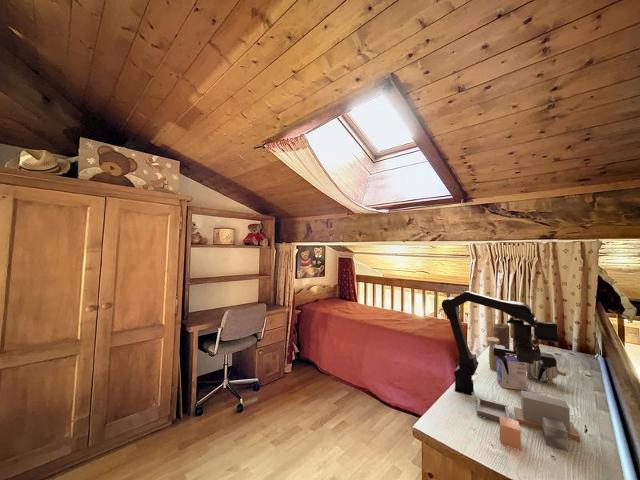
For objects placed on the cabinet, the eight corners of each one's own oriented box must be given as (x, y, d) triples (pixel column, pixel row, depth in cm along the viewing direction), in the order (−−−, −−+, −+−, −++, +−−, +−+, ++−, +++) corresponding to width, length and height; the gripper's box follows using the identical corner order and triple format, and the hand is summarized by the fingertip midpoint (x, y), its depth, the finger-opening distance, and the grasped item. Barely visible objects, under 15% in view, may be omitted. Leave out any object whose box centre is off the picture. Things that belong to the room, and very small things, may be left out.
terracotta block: (500, 444, 80) (500, 424, 80) (499, 434, 85) (499, 415, 85) (520, 450, 78) (520, 430, 78) (518, 440, 82) (518, 421, 82)
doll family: (545, 367, 131) (544, 341, 132) (522, 363, 137) (522, 337, 137) (540, 352, 150) (539, 329, 150) (520, 349, 155) (520, 326, 156)
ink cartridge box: (520, 384, 116) (520, 351, 116) (527, 390, 110) (527, 356, 110) (496, 381, 117) (495, 349, 118) (502, 388, 112) (501, 354, 112)
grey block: (546, 445, 80) (545, 425, 80) (542, 435, 84) (542, 416, 84) (567, 452, 77) (567, 431, 77) (563, 441, 82) (562, 422, 82)
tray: (477, 415, 94) (477, 410, 94) (477, 402, 102) (477, 397, 102) (509, 425, 88) (509, 419, 89) (507, 410, 97) (507, 405, 97)
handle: (486, 369, 129) (486, 339, 129) (489, 365, 134) (488, 336, 134) (498, 372, 126) (497, 342, 126) (500, 368, 130) (499, 338, 131)
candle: (512, 366, 133) (511, 327, 133) (495, 363, 135) (495, 325, 136) (507, 360, 140) (506, 323, 141) (491, 357, 143) (491, 321, 143)
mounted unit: (516, 423, 90) (516, 397, 90) (514, 410, 96) (513, 386, 97) (580, 441, 81) (579, 413, 81) (572, 426, 88) (571, 400, 88)
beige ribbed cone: (519, 370, 128) (519, 348, 128) (566, 382, 117) (565, 358, 117) (516, 378, 120) (516, 354, 121) (566, 392, 109) (566, 366, 109)
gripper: (494, 338, 96) (494, 380, 96) (560, 348, 86) (561, 395, 86) (492, 329, 106) (492, 368, 105) (552, 338, 96) (553, 380, 96)
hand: (522, 377), depth 98 cm, fingers open, 9 cm apart
